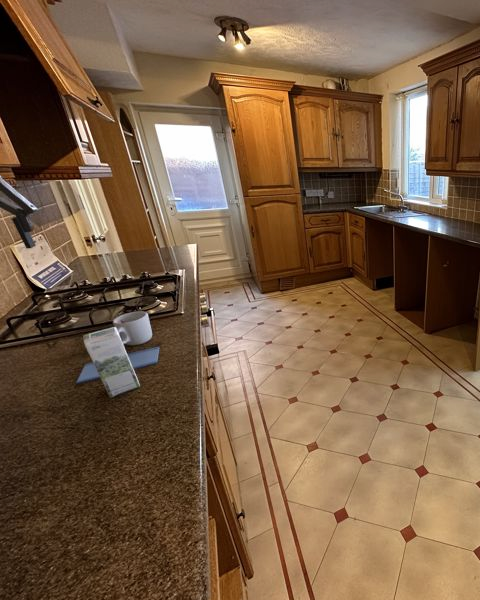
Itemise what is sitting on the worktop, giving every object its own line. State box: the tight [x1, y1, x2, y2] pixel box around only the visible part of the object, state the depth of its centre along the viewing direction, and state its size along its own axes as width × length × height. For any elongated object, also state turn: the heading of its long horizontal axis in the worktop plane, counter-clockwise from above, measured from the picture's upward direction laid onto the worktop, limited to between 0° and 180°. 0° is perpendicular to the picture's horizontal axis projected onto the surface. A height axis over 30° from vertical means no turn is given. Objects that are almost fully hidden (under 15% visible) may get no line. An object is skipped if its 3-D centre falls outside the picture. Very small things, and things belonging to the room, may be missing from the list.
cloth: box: [75, 346, 160, 385], centre depth 84 cm, size 16×9×1 cm, turn 121°
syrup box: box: [82, 326, 141, 398], centre depth 73 cm, size 6×6×14 cm
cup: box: [112, 310, 153, 346], centre depth 92 cm, size 11×8×8 cm
